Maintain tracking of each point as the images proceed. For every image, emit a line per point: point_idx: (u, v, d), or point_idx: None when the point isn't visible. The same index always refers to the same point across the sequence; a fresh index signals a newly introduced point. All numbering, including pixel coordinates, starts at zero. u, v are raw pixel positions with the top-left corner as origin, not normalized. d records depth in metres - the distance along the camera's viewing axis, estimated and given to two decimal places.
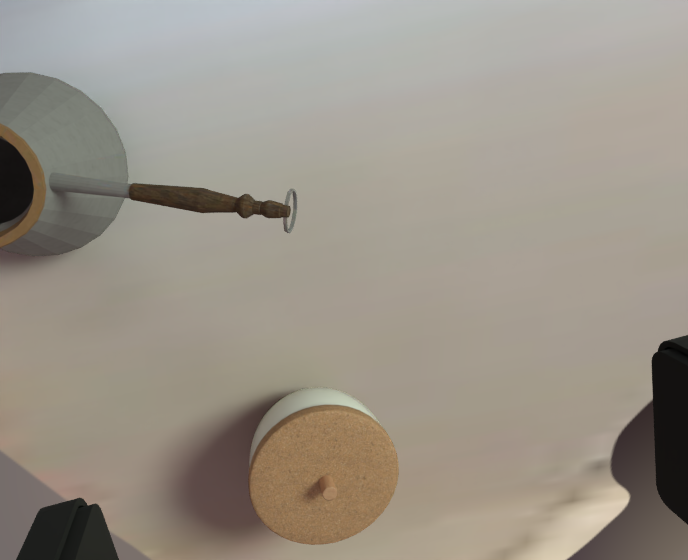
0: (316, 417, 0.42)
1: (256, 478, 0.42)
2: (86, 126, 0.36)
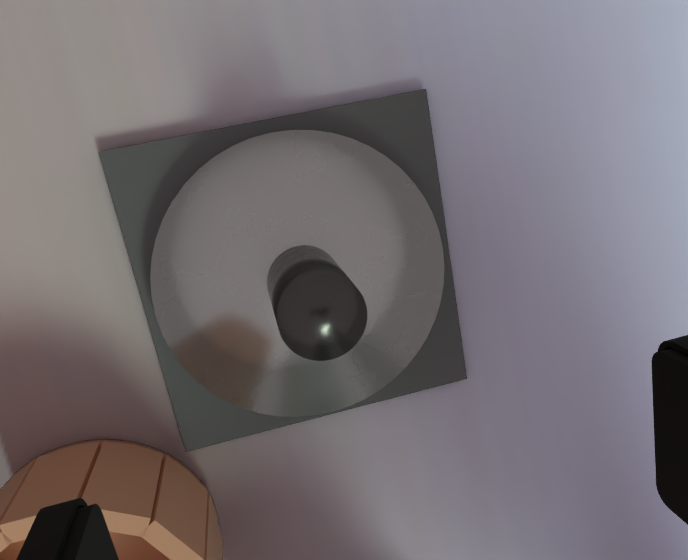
0: None
1: None
2: None
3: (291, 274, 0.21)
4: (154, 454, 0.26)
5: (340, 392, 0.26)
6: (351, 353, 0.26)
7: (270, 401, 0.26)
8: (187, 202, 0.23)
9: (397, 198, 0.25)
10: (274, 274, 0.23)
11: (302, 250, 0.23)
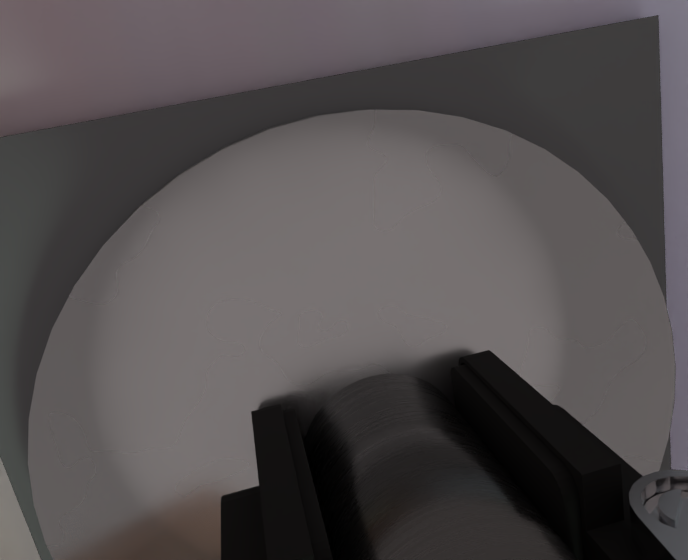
0: None
1: None
2: None
3: (394, 528, 0.07)
4: None
5: None
6: None
7: None
8: (113, 286, 0.09)
9: (594, 265, 0.11)
10: (328, 470, 0.09)
11: (392, 400, 0.10)
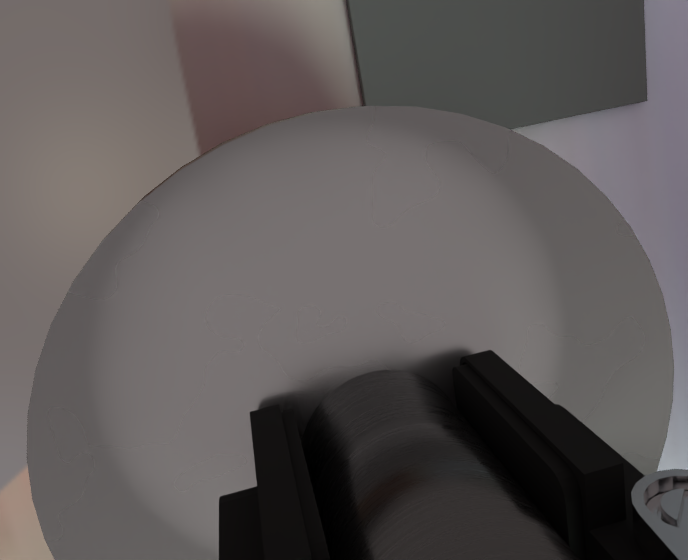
0: None
1: None
2: None
3: (391, 522, 0.07)
4: None
5: None
6: None
7: None
8: (111, 281, 0.10)
9: (592, 263, 0.11)
10: (326, 465, 0.09)
11: (390, 396, 0.10)
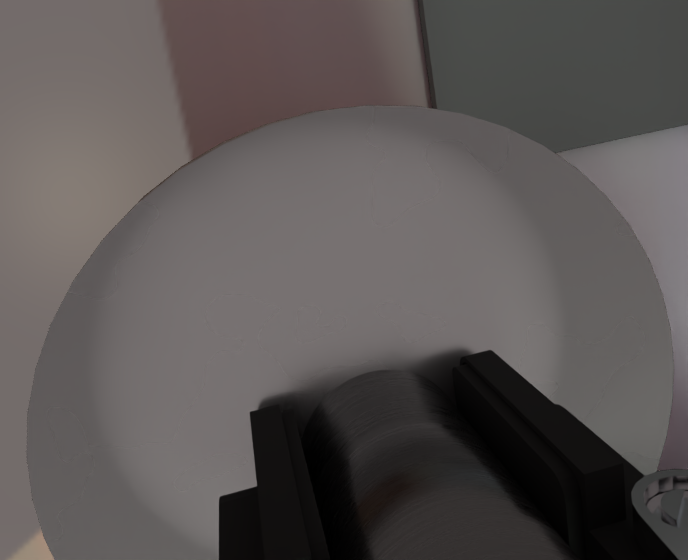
0: None
1: None
2: None
3: (391, 521, 0.07)
4: None
5: None
6: None
7: None
8: (111, 281, 0.09)
9: (592, 262, 0.11)
10: (326, 465, 0.09)
11: (390, 395, 0.10)
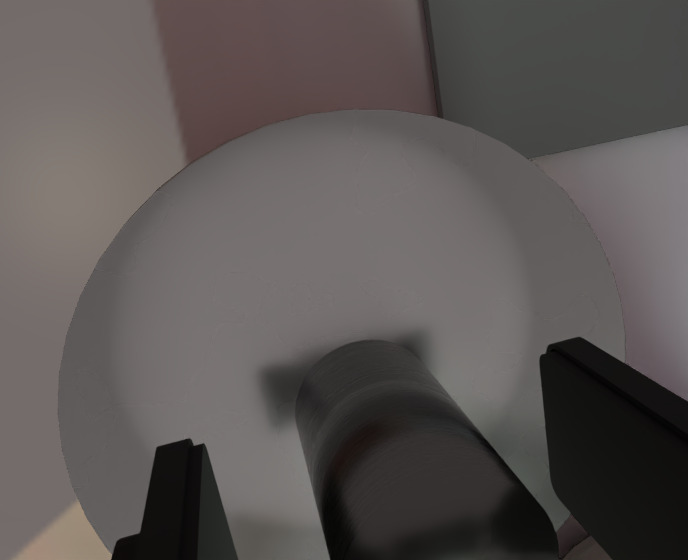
0: None
1: None
2: None
3: (366, 452, 0.09)
4: None
5: None
6: None
7: None
8: (132, 260, 0.11)
9: (550, 246, 0.13)
10: (316, 416, 0.11)
11: (371, 359, 0.11)
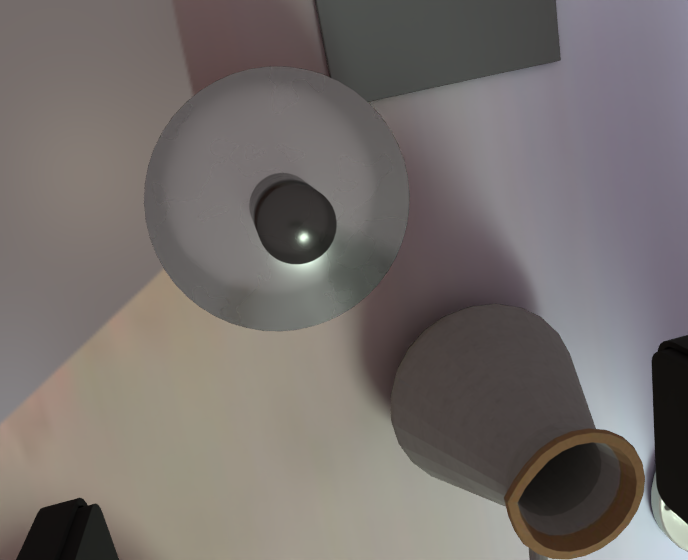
0: None
1: None
2: None
3: (269, 190, 0.24)
4: None
5: (318, 309, 0.29)
6: (327, 273, 0.29)
7: (255, 316, 0.29)
8: (175, 132, 0.26)
9: (365, 129, 0.28)
10: (255, 195, 0.26)
11: (280, 175, 0.26)
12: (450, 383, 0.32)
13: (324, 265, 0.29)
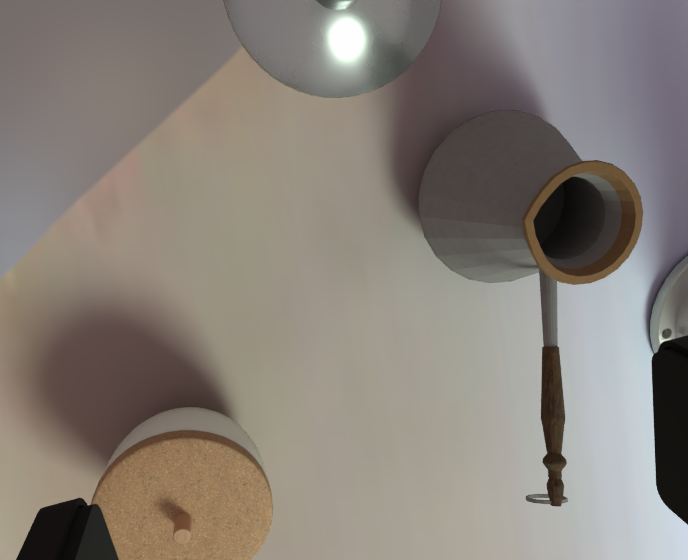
0: (265, 499, 0.37)
1: (190, 445, 0.35)
2: None
3: None
4: None
5: (362, 79, 0.34)
6: (371, 46, 0.34)
7: (308, 81, 0.33)
8: None
9: None
10: None
11: None
12: (473, 161, 0.36)
13: (369, 38, 0.33)
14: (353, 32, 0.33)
